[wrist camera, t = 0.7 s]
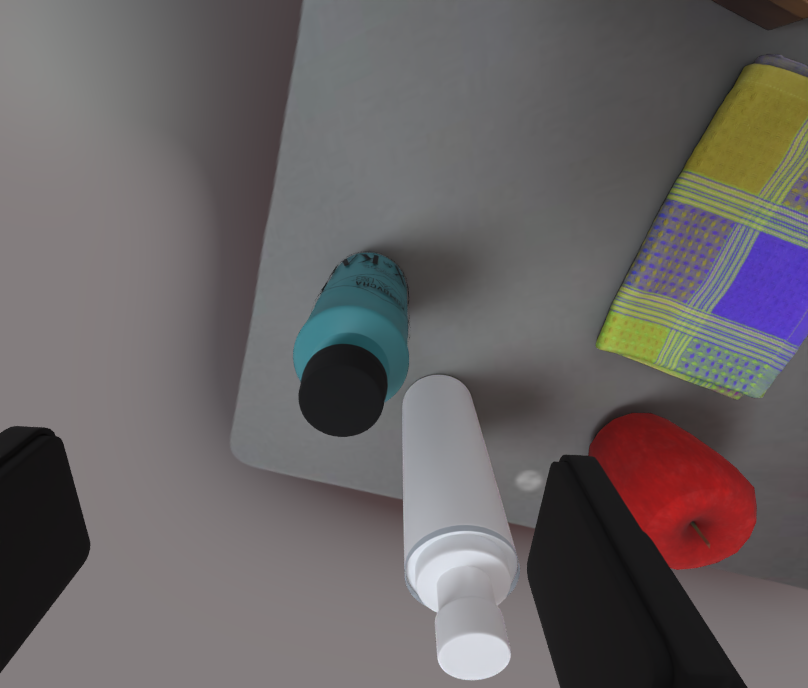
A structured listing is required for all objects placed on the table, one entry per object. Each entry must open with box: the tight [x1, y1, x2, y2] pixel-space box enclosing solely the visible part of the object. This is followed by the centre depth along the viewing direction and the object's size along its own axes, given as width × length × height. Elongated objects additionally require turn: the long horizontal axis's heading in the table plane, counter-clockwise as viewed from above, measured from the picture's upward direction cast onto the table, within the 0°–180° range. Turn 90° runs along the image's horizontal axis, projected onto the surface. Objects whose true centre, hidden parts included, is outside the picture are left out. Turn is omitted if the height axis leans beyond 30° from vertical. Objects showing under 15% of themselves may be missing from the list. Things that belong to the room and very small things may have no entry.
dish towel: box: [596, 54, 808, 400], centre depth 36 cm, size 18×24×3 cm
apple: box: [588, 413, 757, 570], centre depth 39 cm, size 11×10×14 cm
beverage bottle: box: [293, 251, 410, 437], centre depth 29 cm, size 6×7×20 cm
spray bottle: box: [402, 375, 520, 680], centre depth 32 cm, size 7×7×25 cm
